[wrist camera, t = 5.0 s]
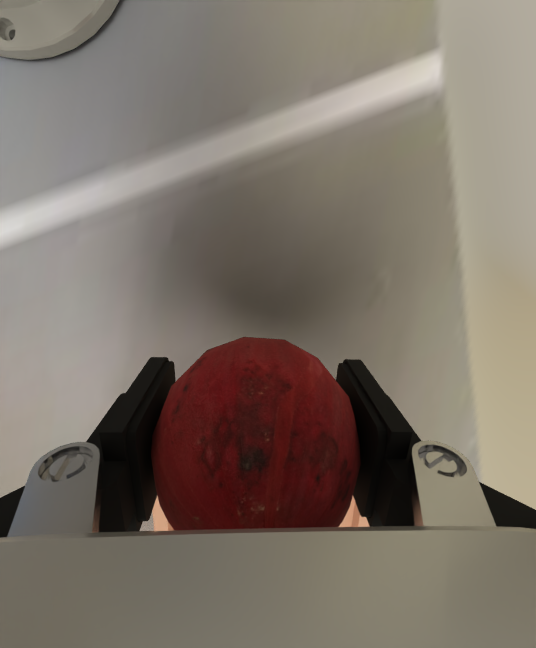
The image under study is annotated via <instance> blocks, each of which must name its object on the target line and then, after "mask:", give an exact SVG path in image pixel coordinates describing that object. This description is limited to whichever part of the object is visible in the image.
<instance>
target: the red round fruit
mask: <svg viewBox="0 0 536 648" xmlns="http://www.w3.org/2000/svg"><path fill="white" fill-rule="evenodd" d="M151 459H152V466H153V473H154V480H155V487H156V492H157V496H158V500H159V504H160V507H161V509H162V511H163V513H164V515H165V517H166V519H167V520H168V522H169V524H170V525H171V526H172V528H173V529H174V530H213V529H260V528H312V527H339V526H340V524H341V523H342V522H343V520H344V518H345V516H346V514H347V512H348V510H349V508H350V505H351V501H352V497H353V493H354V489H355V485H356V481H357V477H358V473H359V469H360V465H361V459H360V443H359V437H358V432H357V427H356V422H355V417H354V413H353V409H352V406H351V403H350V399H349V396H348V395H347V394H346V393H345V391H344V390H343V389H342V388H341V386H340V385H339V384H338V383H337V381H336V380H335V379H334V378H333V376H332V375H331V374H330V373H329V371H328V370H327V369H326V368H325V366H324V365H323V364H322V363H321V362H320V360H319V359H318V358H317V357H315V356H313V355H311V354H310V353H308V352H306V351H304V350H302V349H300V348H299V347H297V346H295V345H293V344H291V343H290V342H288V341H286V340H281V339H266V338H251V337H242V338H240V339H237V340H234V341H231V342H228V343H226V344H223V345H220V346H217V347H215V348H212V349H209V350H207V351H206V352H205V353H204V354H203V355H202V356H201V357H200V358H199V359H198V360H197V361H196V362H195V363H194V364H193V365H192V366H191V367H190V368H189V369H188V370H187V371H186V372H185V373H184V374H183V375H182V376H181V377H180V378H179V379H178V380H177V381H176V382H175V383H174V384H173V385H172V386H171V388H170V391H169V393H168V396H167V398H166V401H165V403H164V406H163V409H162V411H161V414H160V417H159V419H158V422H157V425H156V427H155V430H154V433H153V435H152V446H151Z"/></svg>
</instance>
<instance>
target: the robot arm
mask: <svg viewBox="0 0 536 648" xmlns="http://www.w3.org/2000/svg"><path fill="white" fill-rule="evenodd" d="M118 2H119V0H0V56H2V57H7V58H16V59H25V60H33V59H41V58H49V57H54V56H57V55H59V54H62V53H64V52H67V51H70V50H72V49H75V48H76V47H78V46H79V45H80V44H82V43H83V42H85V41H86V40H88V39H89V38H90V37H92V36H93V35H94V34H95V33H96V32H97V31H98V30H99V29H100V28H101V26H102V25H103V24H104V23H105V22H106V21H107V20H108V19H109V17H110V16H111V14H112V13H113V11H114V9H115V7H116V6H117V4H118ZM336 381H337V383H338V384H339V385H340V386H341V388H342V389H343V390H344V391H345V393H346V394H347V395H348V396H349V399H350V403H351V406H352V409H353V413H354V417H355V422H356V427H357V432H358V437H359V443H360V459H361V465H360V469H359V473H358V477H357V481H356V485H355V489H354V493H353V497H354V499H355V502H356V505H357V508H358V511H359V513H360V515H361V517H366V518H367V521H368V524H369V526H370V527H312V528H260V529H213V530H174V531H139V530H140V528H141V525H142V522H143V521H148V520H149V518H150V516H151V513H152V510H153V507H154V504H155V501H156V498H157V492H156V487H155V480H154V473H153V466H152V459H151V446H152V435H153V433H154V430H155V427H156V425H157V422H158V419H159V417H160V414H161V411H162V409H163V406H164V403H165V401H166V398H167V396H168V393H169V391H170V388H171V386H172V385H173V384H174V383H175V369H174V362H173V361H169V360H168V358H167V357H151V358H150V359H149V360H148V362H147V363H146V365H145V366H144V367H143V369H142V370H141V372H140V373H139V375H138V376H137V378H136V379H135V381H134V382H133V383H132V385H131V386H130V388H129V389H128V391H127V392H126V393H123V394H121V395H120V396H119V397H118V398H117V400H116V401H115V402H114V404H113V405H112V407H111V408H110V409H109V411H108V412H107V414H106V415H105V416H104V418H103V419H102V421H101V422H100V423H99V425H98V426H97V427H96V429H95V430H94V432H93V433H92V434H91V436H90V437H89V439H88V440H87V441H86V442H76V443H70V444H66V445H63V446H60V447H58V448H56V449H54V450H52V451H50V452H48V453H47V454H45V455H44V456H42V457H41V458H40V459H39V460H38V461H37V462H36V463H35V464H34V466H33V468H32V470H31V471H30V474H29V477H28V480H27V482H26V485H25V486H23V487H21V488H19V489H17V490H15V491H13V492H11V493H9V494H7V495H5V496H3V497H1V498H0V648H536V510H535V509H533V508H530V507H529V506H526V505H525V504H523V503H521V502H519V501H517V500H515V499H513V498H511V497H508V496H506V495H504V494H502V493H500V492H498V491H496V490H494V489H492V488H490V487H488V486H486V485H484V484H482V483H480V482H479V481H478V478H477V476H476V473H475V471H474V468H473V466H472V465H471V463H470V461H469V460H468V459H467V458H466V457H465V456H464V455H463V454H462V453H460V452H459V451H457V450H456V449H454V448H452V447H450V446H448V445H446V444H443V443H440V442H436V441H421V440H420V438H419V437H418V436H417V434H416V433H415V432H414V430H413V429H412V427H411V426H410V425H409V423H408V422H407V421H406V419H405V418H404V416H403V415H402V414H401V412H400V411H399V410H398V408H397V407H396V406H395V404H394V403H393V401H392V400H391V399H390V397H389V396H388V395H386V394H385V393H384V391H383V390H382V388H381V387H380V386H379V384H378V383H377V381H376V380H375V379H374V377H373V376H372V375H371V373H370V372H369V370H368V369H367V368H366V366H365V365H364V363H363V362H362V361H361V360H348V359H345V360H344V362H343V363H339V365H338V370H337V378H336Z"/></svg>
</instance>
